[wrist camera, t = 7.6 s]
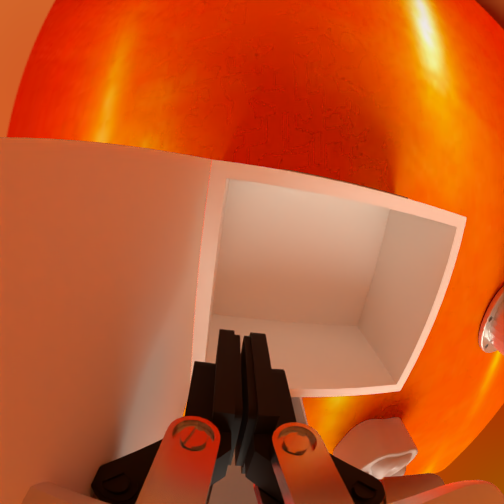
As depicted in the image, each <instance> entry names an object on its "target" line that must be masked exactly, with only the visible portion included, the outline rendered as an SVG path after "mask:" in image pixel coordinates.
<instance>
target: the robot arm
mask: <svg viewBox="0 0 504 504" xmlns="http://www.w3.org/2000/svg"><path fill="white" fill-rule="evenodd" d="M479 346H480V347H481V349H482V350H483V351H485V352H487V353H490V352H494V351H496V350H498V351H499V352H500V353H502V354H503V355H504V286H503V287H502V288H501V289H500V290H499V291H498V293H497V294H496V295H495V297H494V298H493V300H492V302H491V303H490V305H489V307H488V309H487V311H486V313H485V316H484V318H483V321H482V324H481V327H480V331H479ZM234 450H235V465H236V466H241V474H245V477H246V478H247V479H248V480H250V481H251V482H252V483H253V486H254V492H255V495H256V499H257V502H258V504H504V495H503V494H502V492H501V491H500V490H499V489H498V488H497V487H496V486H495V485H493V484H492V483H490V482H487V481H481V480H466V481H459V482H454V483H450V484H446V485H445V484H444V482H443V480H442V479H441V478H440V477H439V476H438V475H435V474H431V473H426V474H417V475H406V476H391V477H383V478H382V479H377V478H375V477H374V476H372V475H370V474H368V473H366V472H364V471H362V470H360V469H358V468H356V467H354V466H352V465H350V464H348V463H346V462H344V461H342V460H341V459H339V458H337V457H335V456H333V455H332V454H330V453H329V452H328V450H327V448H326V446H325V444H324V442H323V440H322V438H321V436H320V435H319V434H318V432H317V431H316V430H315V429H313V428H312V427H310V426H308V425H306V424H302V423H298V422H297V421H296V417H295V413H294V408H293V404H292V400H291V395H290V391H289V386H288V382H287V378H286V374H285V371H284V370H283V369H272V367H271V362H270V356H269V350H268V345H267V339H266V334H263V333H253V332H250V335H249V336H244V338H243V343H242V349H241V350H240V335H235V331H234V330H225V329H219V337H218V346H217V354H216V363H207V362H200V361H195V362H194V366H193V372H192V377H191V383H190V389H189V395H188V401H187V406H186V413H185V416H184V417H181V418H178V419H176V420H174V421H173V422H171V424H170V425H169V427H168V428H167V430H166V433H165V435H164V437H163V439H161V440H159V441H157V442H155V443H153V444H151V445H148V446H146V447H144V448H142V449H140V450H137V451H135V452H133V453H130V454H128V455H126V456H123V457H121V458H118V459H116V460H113V461H111V462H108V463H106V464H103V465H101V466H100V467H99V469H98V471H97V473H96V475H95V477H94V479H93V481H92V484H91V487H92V489H93V492H94V494H93V497H92V498H91V497H88V496H85V495H82V494H80V493H77V492H74V491H72V490H69V489H67V488H64V487H61V486H59V485H56V484H54V483H51V482H42V483H38V484H35V485H33V486H31V487H30V488H29V490H28V492H27V494H26V496H25V498H24V499H23V501H22V503H21V504H209V501H210V497H211V493H212V489H213V484H215V483H216V482H218V481H219V480H221V479H222V478H224V477H225V476H226V472H227V467H228V465H231V462H232V458H233V454H234Z"/></svg>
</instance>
